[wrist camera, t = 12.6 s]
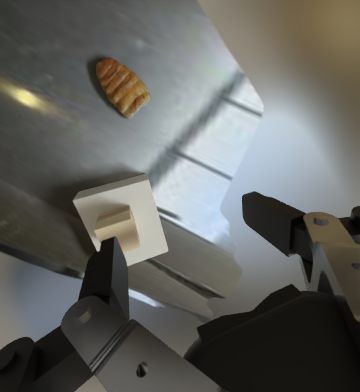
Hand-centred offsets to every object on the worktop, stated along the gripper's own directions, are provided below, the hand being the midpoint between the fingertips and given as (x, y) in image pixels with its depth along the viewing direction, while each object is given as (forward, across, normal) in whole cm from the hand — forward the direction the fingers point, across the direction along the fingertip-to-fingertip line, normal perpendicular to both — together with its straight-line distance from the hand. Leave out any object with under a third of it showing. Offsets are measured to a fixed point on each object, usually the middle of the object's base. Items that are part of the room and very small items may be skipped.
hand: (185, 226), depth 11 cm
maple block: (+25, +8, +11) cm, 29 cm away
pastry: (+31, 0, -12) cm, 33 cm away
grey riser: (+30, +7, +13) cm, 34 cm away
